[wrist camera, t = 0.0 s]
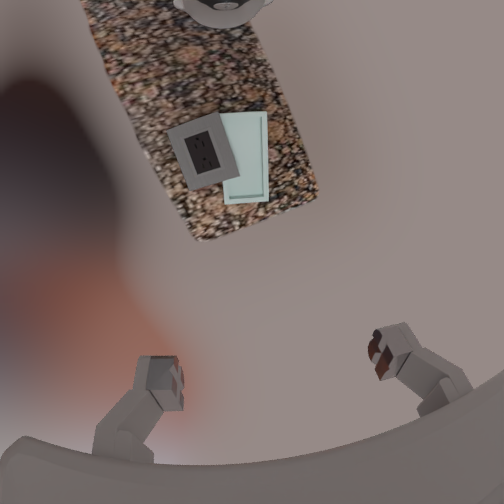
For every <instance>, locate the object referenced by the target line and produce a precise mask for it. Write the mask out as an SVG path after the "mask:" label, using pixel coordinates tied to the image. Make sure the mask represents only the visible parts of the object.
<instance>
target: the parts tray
mask: <svg viewBox="0 0 504 504" xmlns="http://www.w3.org/2000/svg"><path fill="white" fill-rule="evenodd" d="M219 115H220V118H221V121H222V124H223V127H224V129H225V132H226V135H227V138H228V141H229V144H230V147H231V150H232V153H233V156H234V159H235V162H236V165H237V168H238V171H239V174H240V176H239V177H236V178H232V179H228V180H225V181H223V190H224V202H225V204H237V203H250V202H263V201H269V186H268V133H267V111H249V112H231V113H219Z"/></svg>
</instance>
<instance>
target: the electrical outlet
mask: <svg viewBox="0 0 504 504" xmlns="http://www.w3.org/2000/svg"><path fill="white" fill-rule="evenodd" d="M166 131H167V134H168V137H169V139H170V142H171V145H172V147H173V150H174V152H175V155H176V158H177V160H178V163H179V165H180V168H181V170H182V173H183V175H184V178H185V180H186V183H187V185H188V188H189V190H190V191H192V190H195V189H198V188H201V187H205V186H208V185H211V184H215V183H218V182H222V181H225V180H228V179H232V178H236V177H239V176H240V174H239V171H238V168H237V165H236V162H235V159H234V156H233V153H232V150H231V147H230V144H229V141H228V138H227V135H226V132H225V129H224V127H223V124H222V121H221V118H220V115H219V112H215V113H212V114H209V115H206V116H203V117H200V118H197V119H195V120H192V121H189V122H187V123H184V124H181V125H179V126H176V127H174V128H171V129H169V130H166Z"/></svg>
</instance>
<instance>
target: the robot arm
mask: <svg viewBox="0 0 504 504" xmlns="http://www.w3.org/2000/svg"><path fill="white" fill-rule="evenodd" d="M272 2H273V0H174V1H173V4H174V7H175V8H177V9H180V10H182V11H185V12H187V13H188V14H189V15H190V16H191V17H192V18H193V19H194V20H195V21H197V22H198V23H200V24H202V25H204V26H207V27H211V28H219V29H225V28H232V27H236V26H239V25H242V24H244V23H246V22H248V21H249V20H251V19H252V18H253V17H254V16H255V15H256V14H257V12H258V11H259V10H260V9H261V8H262V7H264V6H266V5H268V4H270V3H272ZM373 337H374V338H373V339H372V340H371V341H370V342H369V345H368V354H369V358H370V360H371V362H373V363H374V364H376V366H375V371H376V373H377V375H378V378H379V380H380V381H382V380H386V379H389V378H393V377H396V378H397V379H398V380H400V381H401V382H402V383H404V384H405V385H406V386H407V387H408V388H410V389H411V390H412V391H413V392H415V393H416V394H417V395H418V396H420V397H421V398H422V399H423V401H422V402H421V403H420V404H419V406H418V407H417V411H418V413H419V416H420V418H419V419H416V420H414V421H412V422H409V423H407V424H405V425H402V426H400V427H397V428H395V429H392V430H390V431H387V432H384V433H381V434H378V435H375V436H373V437H370V438H367V439H363V440H360V441H357V442H354V443H350V444H347V445H343V446H340V447H336V448H332V449H328V450H324V451H319V452H315V453H310V454H306V455H300V456H295V457H289V458H283V459H277V460H269V461H262V462H252V463H241V464H228V465H227V464H226V465H169V464H154V453H153V452H152V450H150V449H149V448H148V447H147V446H146V445H144V444H143V442H144V441H145V439H146V438H147V437H148V435H149V434H150V432H151V431H152V429H153V428H154V426H155V424H156V423H157V422H158V420H159V419H160V417H161V416H162V414H163V413H164V412H163V411H183V406H184V397H183V394H182V392H181V391H182V390H183V389H184V374H183V371H182V367H181V366H179V365H178V363H179V360H178V358H177V356H140V357H139V359H138V362H137V367H136V373H135V378H134V384H133V390H129V391H128V392H127V393H126V394H125V395H124V396H123V397H122V398H121V400H120V401H119V402H118V403H117V404H116V405H115V406H114V407H113V408H112V409H111V410H110V411H109V413H108V414H107V415H106V416H105V417H104V418H103V419H102V420H101V421H100V423H98V425H97V426H96V430H95V436H94V443H93V449H92V454H88V453H83V452H79V451H75V450H71V449H68V448H64V447H60V446H57V445H54V444H50V443H47V442H44V441H41V440H38V439H35V438H33V437H29V436H22V437H21V438H19V439H18V440H17V441H15V442H14V443H13V444H12V445H11V446H10V447H9V448H8V449H6V451H5V452H4V453H3V455H2V457H1V459H0V504H504V370H503V371H501V372H500V373H498V374H497V375H496V376H494V377H493V378H491V379H490V380H488V381H487V382H485V383H483V384H482V385H480V386H479V387H477V388H476V389H473V387H472V386H471V384H470V382H469V381H468V379H467V377H466V375H465V373H464V372H463V370H462V369H461V368H459V367H458V366H456V365H454V364H452V363H451V362H449V361H447V360H446V359H444V358H442V357H441V356H439V355H437V354H435V353H434V352H432V351H430V350H428V349H427V348H422V346H421V345H420V343H419V342H418V340H417V338H416V337H415V335H414V334H413V332H412V330H411V329H410V327H409V326H408V324H407V323H405V322H403V323H399V324H396V325H390V326H387V327H383V328H379V329H376V330H375V331H374V332H373Z"/></svg>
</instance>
